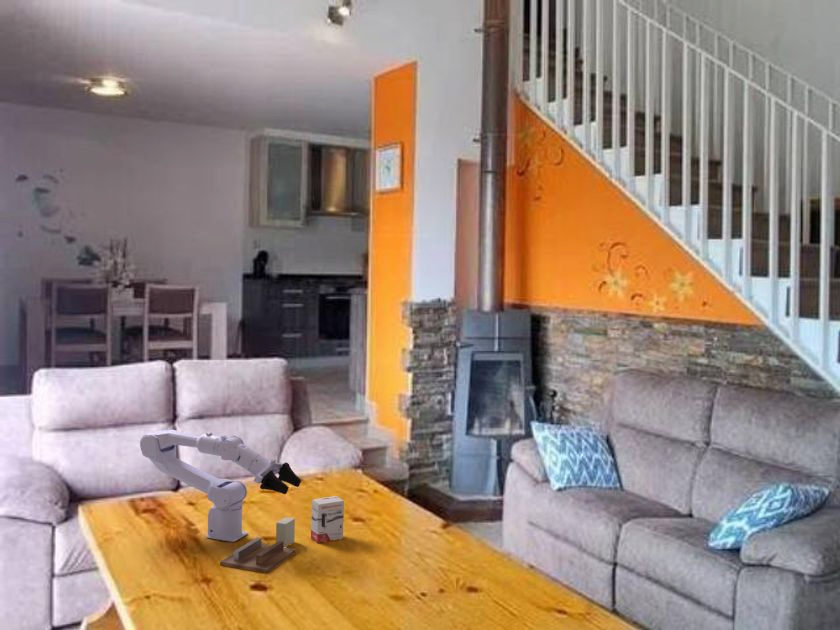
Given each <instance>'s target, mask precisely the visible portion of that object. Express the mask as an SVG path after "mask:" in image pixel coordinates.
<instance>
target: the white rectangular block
mask: <svg viewBox="0 0 840 630" xmlns="http://www.w3.org/2000/svg"><path fill="white" fill-rule="evenodd" d="M295 525H296V519H295V518H294V517H287V516H285V517H284V518H281V519H280V520H278V521H277V522H276V526H275V543H276V542H278V541H283V547H286V548H288V547H289V546H290V544H291V543H292V544H293V542H294V543H295V534H296V533H295V530H296V529H295V527H296V526H295ZM292 544H291V545H292ZM288 545H289V546H288ZM287 546H288V547H287Z"/></svg>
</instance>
